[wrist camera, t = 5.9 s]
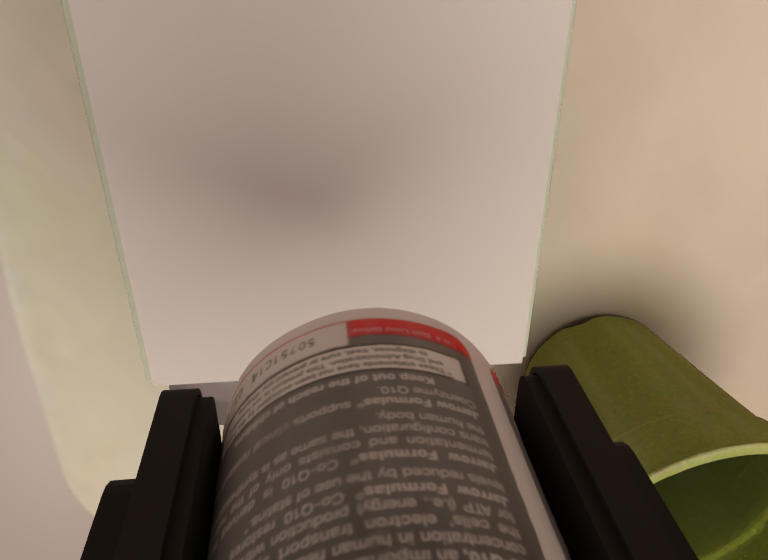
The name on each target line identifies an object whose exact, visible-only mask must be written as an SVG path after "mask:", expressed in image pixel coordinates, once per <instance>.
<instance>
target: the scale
mask: <svg viewBox="0 0 768 560" xmlns="http://www.w3.org/2000/svg"><path fill="white" fill-rule="evenodd" d="M61 3H62V7H63V12H64V16H65V21H66V25H67V29H68V34H69V38H70V43H71V47H72V52H73V56H74V60H75V65H76V69H77V74H78V78H79V82H80V87H81V91H82V96H83V100H84V105H85V109H86V113H87V118H88V122H89V127H90V131H91V136H92V140H93V144H94V149H95V153H96V158H97V162H98V166H99V171H100V175H101V180H102V184H103V189H104V193H105V197H106V202H107V206H108V211H109V215H110V220H111V224H112V228H113V233H114V237H115V242H116V246H117V250H118V255H119V259H120V264H121V268H122V273H123V277H124V281H125V286H126V290H127V295H128V299H129V304H130V308H131V312H132V317H133V321H134V326H135V330H136V334H137V339H138V343H139V348H140V352H141V357H142V361H143V365H144V370H145V374H146V379H147V380H152V383H153V386H163V385H179V384H195V383H211V382H227V381H238V380H239V378H240V376H241V375H242V373H243V372H244V370H245V369H246V367H247V366H248V365H249V364H250V362H251V361H252V360H253V359H254V358H255V357H256V356H257V355H258V354H259V353H260V352H261V351H262V350H263V349H264V348H266V347H267V346H268V345H269V344H270V343H272V342H273V341H275V340H276V339H278V338H279V337H281V336H282V335H284V334H285V333H287V332H289V331H291V330H293V329H295V328H297V327H299V326H301V325H303V324H305V323H308V322H310V321H312V320H314V319H317V318H320V317H323V316H326V315H329V314H333V313H336V312H341V311H346V310H352V309H362V308H390V309H399V310H404V311H409V312H414V313H418V314H421V315H424V316H427V317H430V318H433V319H435V320H438V321H440V322H442V323H444V324H446V325H448V326H449V327H451V328H453V329H454V330H456V331H458V332H459V333H460V334H462V335H463V336H464V337H465V338H467V339H468V340H469V341H470V342H471V343H472V344H473V345H474V346H475V347H476V348H477V349H478V350H479V351H480V352H481V353H482V355H483V356H484V357H485V359H486V360H487V362H488V363H489V364H490V365H498V364H514V363H522V358H523V357H526V351H527V344H528V337H529V330H530V323H531V316H532V309H533V302H534V295H535V288H536V281H537V274H538V267H539V260H540V253H541V245H542V238H543V231H544V224H545V217H546V210H547V203H548V196H549V189H550V182H551V175H552V168H553V161H554V154H555V147H556V140H557V133H558V126H559V119H560V112H561V105H562V98H563V91H564V84H565V77H566V70H567V63H568V56H569V49H570V42H571V35H572V28H573V21H574V14H575V7H576V0H61Z"/></svg>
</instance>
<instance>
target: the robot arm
mask: <svg viewBox="0 0 768 560" xmlns="http://www.w3.org/2000/svg"><path fill="white" fill-rule="evenodd" d="M514 420H515V423H516V425H517V428H518V430H519V433H520V436H521V438H522V441H523V443H524V446H525V448H526V451H527V453H528V456H529V458H530V460H531V463H532V465H533V468H534V470H535V472H536V475H537V477H538V479H539V482H540V484H541V487H542V489H543V492H544V494H545V497H546V499H547V502H548V504H549V506H550V508H551V511H552V513H553V516H554V518H555V521H556V523H557V525H558V528H559V530H560V532H561V535H562V537H563V540H564V542H565V544H566V547H567V549H568V552H569V554H570V557H571V559H572V560H699V559H698V557H697V556H696V554H695V553H694V551H693V549H692V548H691V546H690V544H689V543H688V541H687V539H686V538H685V536H684V534H683V533H682V531H681V529H680V528H679V526H678V524H677V523H676V521H675V519H674V518H673V516H672V514H671V513H670V511H669V509H668V508H667V506H666V504H665V503H664V501H663V499H662V498H661V496H660V494H659V493H658V491H657V489H656V488H655V486H654V484H653V483H652V481H651V479H650V478H649V476H648V474H647V473H646V471H645V469H644V468H643V466H642V464H641V463H640V461H639V459H638V458H637V456H636V454H635V453H634V452H633V450H632V449H631V448H630V446H629V445H627V444H626V443H624V442H613V440H612V439H611V437H610V435H609V434H608V432H607V430H606V428H605V427H604V425H603V423H602V421H601V420H600V418H599V416H598V414H597V413H596V411H595V409H594V407H593V406H592V404H591V402H590V400H589V399H588V397H587V395H586V393H585V392H584V390H583V388H582V387H581V385H580V383H579V381H578V380H577V378H576V376H575V374H574V373H573V371H572V369H571V368H570V367H569V366H568V365H566V364H565V365H549V366H534V367H532V369H531V370H530V374H529V376H522V377H521V378H520V380H519V385H518V392H517V400H516V407H515V414H514ZM221 447H222V441H221V435H220V429H219V423H218V417H217V410H216V404H215V400H214V397H202V393H201V390H200V389H199V388H192V389H177V390H163V391H162V392H161V394H160V397H159V400H158V404H157V407H156V411H155V414H154V418H153V421H152V425H151V428H150V431H149V435H148V438H147V442H146V445H145V449H144V452H143V456H142V459H141V463H140V466H139V470H138V473H137V477H136V479H127V480H114V481H110V482H109V483H108V484H107V485H106V487H105V489H104V492H103V494H102V497H101V500H100V503H99V506H98V509H97V511H96V514H95V517H94V520H93V524H92V526H91V529H90V532H89V535H88V538H87V541H86V544H85V547H84V550H83V553H82V556H81V559H80V560H206V559H207V552H208V545H209V537H210V530H211V522H212V515H213V508H214V501H215V493H216V484H217V478H218V471H219V461H220V455H221Z"/></svg>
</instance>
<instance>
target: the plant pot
mask: <svg viewBox="0 0 768 560" xmlns="http://www.w3.org/2000/svg"><path fill="white" fill-rule="evenodd" d="M565 364H566V365H568V366H569V367H570V368H571V369H572V371H573V373H574V374H575V376H576V378H577V380H578V381H579V383H580V385H581V387H582V388H583V390H584V392H585V393H586V395H587V397H588V399H589V400H590V402H591V404H592V406H593V407H594V409H595V411H596V413H597V414H598V416H599V418H600V420H601V421H602V423H603V425H604V427H605V428H606V430H607V432H608V434H609V435H610V437H611V439H612V440H613V442H624V443H626V444H627V445H629V446H630V448H631V449H632V450H633V452H634V453H635V454H636V456H637V458H638V459H639V461H640V463H641V464H642V466H643V468H644V469H645V471H646V473H647V474H648V476H649V478H650V479H651V481H652V483H653V484H654V486H655V488H656V489H657V491H658V493H659V494H660V496H661V498H662V499H663V501H664V503H665V504H666V506H667V508H668V509H669V511H670V513H671V514H672V516H673V518H674V519H675V521H676V523H677V524H678V526H679V528H680V529H681V531H682V533H683V534H684V536H685V538H686V539H687V541H688V543H689V544H690V546H691V548H692V549H693V551H694V553H695V554H696V556H697V557H698V559H699V560H768V421H766V420H764V419H762V418H760V417H757V416H755V415H754V414H753V413H751V412H750V411H749V410H748V409H746V408H745V407H744V406H743V405H741V404H740V403H739V402H738V401H736V400H735V399H734V398H733V397H731V396H730V395H729V394H728V393H726V392H725V391H724V390H723V389H722V388H720V387H719V386H718V385H717V384H715V383H714V382H713V381H712V380H710V379H709V378H708V377H707V376H706V375H704V374H703V373H702V372H701V371H699V370H698V369H697V368H696V367H695V366H693V365H692V364H691V363H690V362H689V361H687V360H686V359H685V358H684V357H682V356H681V355H680V354H679V353H677V352H676V351H675V350H674V349H672V348H671V347H670V346H669V345H667V344H666V343H665V342H664V341H662V340H661V339H660V338H659V337H658V336H656V335H655V334H654V333H653V332H651V331H650V330H649V329H648V328H646V327H645V326H643V325H642V324H640V323H638V322H636V321H634V320H631V319H628V318H623V317H615V316H602V317H595V318H593V319H591V320H589V321H587V322H585V323H583V324H580V325H576V326H573V327H569V328H565V329H562V330H560V331H559V332H557V333H556V334H555V335H553V336H552V337H551V338H550V339H548V340H547V341H546V342H545V343H544V344H543V345H542V346H541V347H540V348H539V349H538V350H537V352H536V353H535V354H534V356H533V358H532V359H531V361H530V363H529V365H528V367H527V370H526V373H525V376H529V374H530V370H531V369H532V367H534V366H549V365H565Z"/></svg>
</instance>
